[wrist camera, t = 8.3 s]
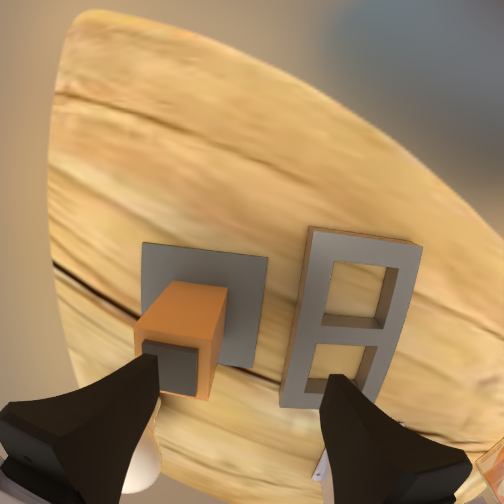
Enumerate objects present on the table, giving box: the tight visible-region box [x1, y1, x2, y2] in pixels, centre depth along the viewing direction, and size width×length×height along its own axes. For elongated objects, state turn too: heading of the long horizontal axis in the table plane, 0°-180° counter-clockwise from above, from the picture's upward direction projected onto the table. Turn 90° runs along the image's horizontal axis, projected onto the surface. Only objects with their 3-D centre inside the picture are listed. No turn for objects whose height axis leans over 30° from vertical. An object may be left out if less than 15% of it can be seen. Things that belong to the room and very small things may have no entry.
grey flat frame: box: [279, 226, 423, 409], centre depth 21 cm, size 14×8×2 cm, turn 173°
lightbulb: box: [121, 397, 162, 494], centre depth 19 cm, size 6×6×11 cm
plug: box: [133, 280, 228, 401], centre depth 18 cm, size 4×4×8 cm
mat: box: [141, 242, 268, 368], centre depth 22 cm, size 9×9×1 cm
